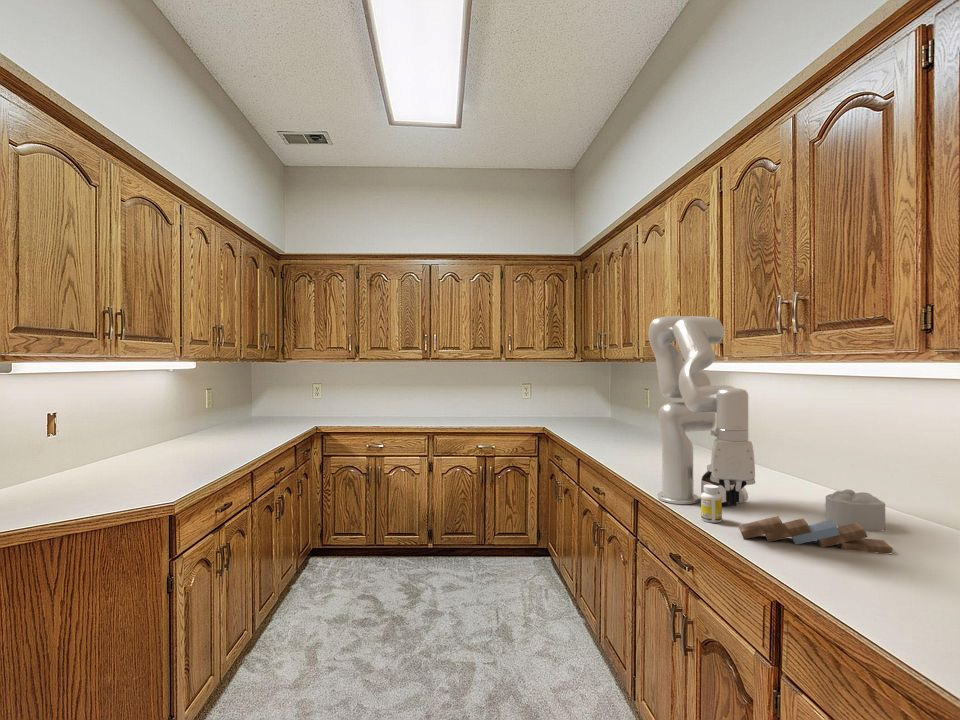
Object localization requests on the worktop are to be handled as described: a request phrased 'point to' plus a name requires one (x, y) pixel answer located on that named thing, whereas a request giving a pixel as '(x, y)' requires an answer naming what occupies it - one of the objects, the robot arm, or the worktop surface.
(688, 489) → the robot arm
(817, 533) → the blue domino
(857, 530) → the domino
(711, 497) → the supplement bottle
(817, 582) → the worktop surface
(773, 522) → the domino
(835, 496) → the lumpy-topped squat cylinder
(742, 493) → the spread jar
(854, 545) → the domino
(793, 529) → the domino
